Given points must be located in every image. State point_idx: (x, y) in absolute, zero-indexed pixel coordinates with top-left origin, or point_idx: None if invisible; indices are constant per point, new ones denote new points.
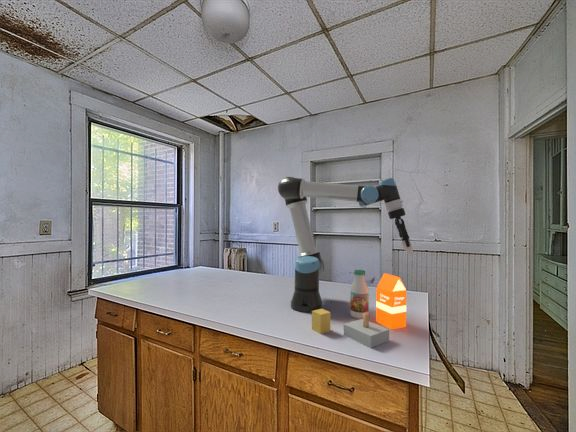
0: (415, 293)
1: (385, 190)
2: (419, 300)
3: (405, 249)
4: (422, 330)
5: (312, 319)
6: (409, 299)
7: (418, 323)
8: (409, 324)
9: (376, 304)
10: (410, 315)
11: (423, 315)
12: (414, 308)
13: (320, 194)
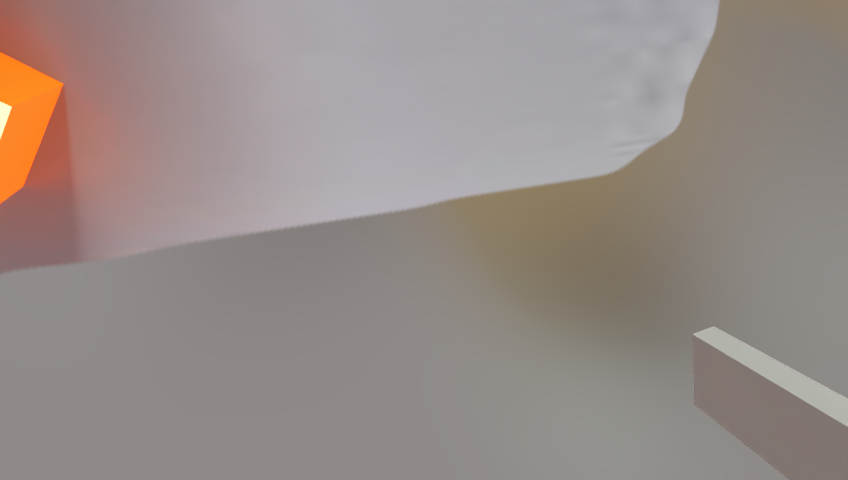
0: (654, 131)
1: None
2: (532, 168)
3: (706, 358)
4: (51, 255)
5: None
6: (532, 121)
7: (141, 225)
8: (80, 194)
9: None
10: (241, 173)
11: (290, 222)
12: (379, 170)
13: None
